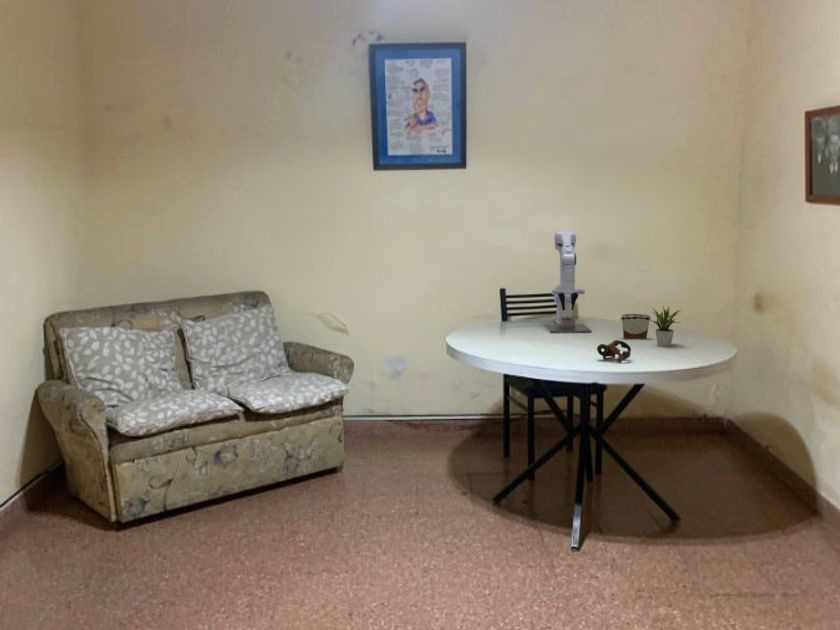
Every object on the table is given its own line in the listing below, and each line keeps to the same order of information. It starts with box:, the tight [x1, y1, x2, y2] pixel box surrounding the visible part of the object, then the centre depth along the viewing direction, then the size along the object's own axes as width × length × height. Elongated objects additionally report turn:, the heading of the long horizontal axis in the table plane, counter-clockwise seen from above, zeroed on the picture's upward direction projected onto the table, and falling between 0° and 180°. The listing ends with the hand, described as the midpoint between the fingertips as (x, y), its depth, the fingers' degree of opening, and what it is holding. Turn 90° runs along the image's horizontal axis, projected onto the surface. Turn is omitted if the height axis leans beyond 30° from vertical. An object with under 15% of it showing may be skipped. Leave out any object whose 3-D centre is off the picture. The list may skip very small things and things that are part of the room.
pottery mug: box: [596, 339, 632, 364], centre depth 272 cm, size 12×10×8 cm
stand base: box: [543, 317, 592, 334], centre depth 337 cm, size 18×18×6 cm
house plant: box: [649, 304, 683, 347], centre depth 296 cm, size 14×14×16 cm
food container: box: [620, 313, 652, 340], centre depth 314 cm, size 12×6×10 cm, turn 84°
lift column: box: [563, 303, 573, 319], centre depth 336 cm, size 3×3×8 cm
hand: (567, 310), depth 336 cm, fingers closed on lift column, 3 cm apart
